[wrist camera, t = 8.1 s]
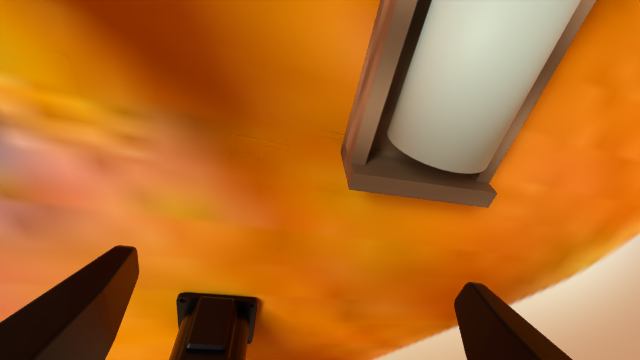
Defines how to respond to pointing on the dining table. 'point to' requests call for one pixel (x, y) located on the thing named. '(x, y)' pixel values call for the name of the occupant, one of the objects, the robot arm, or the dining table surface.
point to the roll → (473, 77)
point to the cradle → (380, 102)
